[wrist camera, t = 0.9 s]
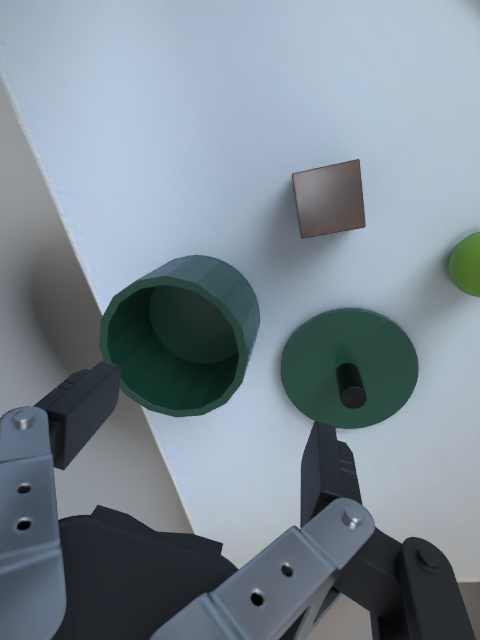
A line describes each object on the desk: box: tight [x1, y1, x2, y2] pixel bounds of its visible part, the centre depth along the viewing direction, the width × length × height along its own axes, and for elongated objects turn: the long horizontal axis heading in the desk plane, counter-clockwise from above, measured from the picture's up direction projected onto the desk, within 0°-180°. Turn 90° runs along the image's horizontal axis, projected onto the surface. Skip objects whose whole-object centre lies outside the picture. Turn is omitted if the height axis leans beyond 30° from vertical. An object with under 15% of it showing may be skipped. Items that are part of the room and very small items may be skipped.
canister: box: [99, 255, 260, 417], centre depth 34 cm, size 12×12×10 cm
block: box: [292, 159, 366, 239], centre depth 31 cm, size 5×5×5 cm
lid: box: [281, 308, 418, 429], centre depth 36 cm, size 13×13×6 cm
